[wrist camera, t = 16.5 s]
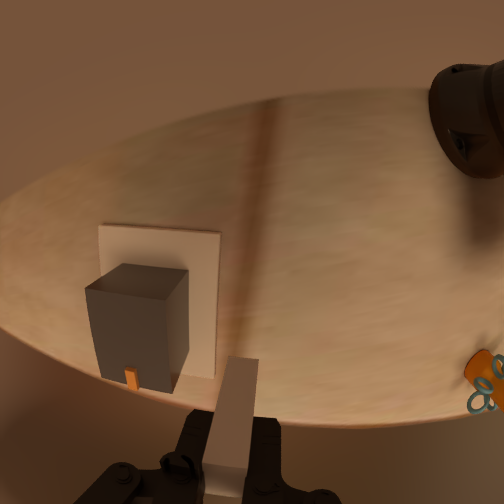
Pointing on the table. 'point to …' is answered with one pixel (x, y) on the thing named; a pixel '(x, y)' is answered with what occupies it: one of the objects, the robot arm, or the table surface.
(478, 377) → the orange tube with rings
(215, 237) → the board
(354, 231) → the table surface
